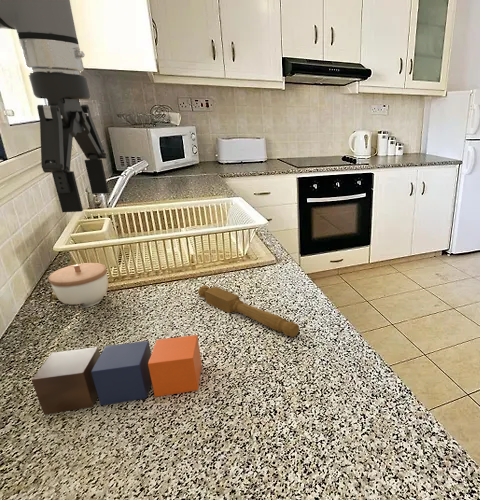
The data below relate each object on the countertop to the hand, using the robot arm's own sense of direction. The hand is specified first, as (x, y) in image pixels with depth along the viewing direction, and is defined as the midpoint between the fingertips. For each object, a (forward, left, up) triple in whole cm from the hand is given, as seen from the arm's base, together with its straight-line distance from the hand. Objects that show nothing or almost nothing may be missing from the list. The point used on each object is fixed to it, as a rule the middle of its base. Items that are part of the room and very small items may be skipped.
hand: (88, 201), depth 68 cm
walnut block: (0, -20, -27) cm, 33 cm away
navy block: (+7, -20, -27) cm, 34 cm away
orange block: (+15, -20, -27) cm, 36 cm away
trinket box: (-10, +13, -27) cm, 32 cm away
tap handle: (+25, -1, -27) cm, 37 cm away
